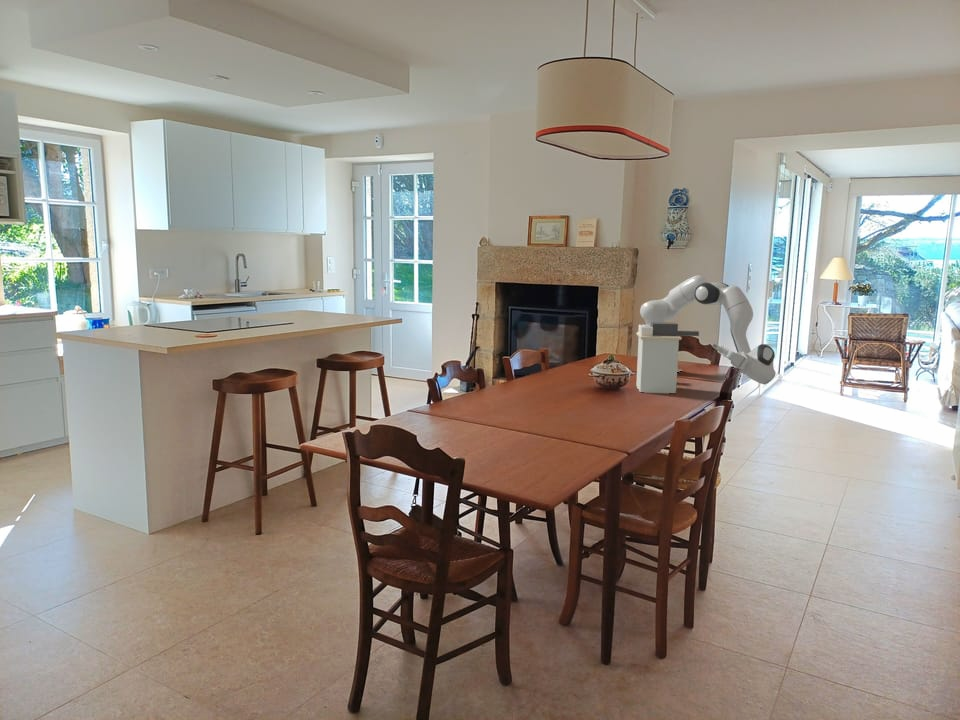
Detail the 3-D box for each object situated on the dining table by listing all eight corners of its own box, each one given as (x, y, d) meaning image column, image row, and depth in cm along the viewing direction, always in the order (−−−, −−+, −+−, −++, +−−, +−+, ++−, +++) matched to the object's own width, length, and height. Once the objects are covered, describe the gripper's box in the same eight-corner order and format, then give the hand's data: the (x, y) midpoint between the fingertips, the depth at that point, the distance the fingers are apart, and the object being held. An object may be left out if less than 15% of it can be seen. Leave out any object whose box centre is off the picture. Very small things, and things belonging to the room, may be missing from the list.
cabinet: (671, 386, 328) (674, 333, 324) (678, 394, 311) (681, 337, 306) (633, 385, 330) (636, 332, 326) (638, 392, 312) (641, 336, 308)
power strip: (649, 333, 322) (649, 324, 322) (652, 336, 311) (652, 327, 310) (638, 332, 323) (638, 324, 322) (641, 335, 311) (641, 326, 311)
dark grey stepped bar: (696, 334, 318) (697, 323, 317) (699, 336, 311) (700, 324, 310) (644, 333, 320) (645, 322, 319) (646, 335, 313) (647, 323, 313)
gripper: (739, 352, 323) (713, 337, 324) (751, 359, 303) (724, 343, 304) (731, 363, 325) (706, 349, 325) (743, 370, 305) (716, 355, 305)
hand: (715, 346), depth 314 cm, fingers open, 8 cm apart
